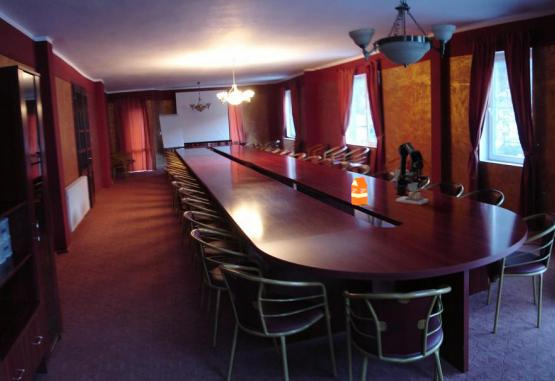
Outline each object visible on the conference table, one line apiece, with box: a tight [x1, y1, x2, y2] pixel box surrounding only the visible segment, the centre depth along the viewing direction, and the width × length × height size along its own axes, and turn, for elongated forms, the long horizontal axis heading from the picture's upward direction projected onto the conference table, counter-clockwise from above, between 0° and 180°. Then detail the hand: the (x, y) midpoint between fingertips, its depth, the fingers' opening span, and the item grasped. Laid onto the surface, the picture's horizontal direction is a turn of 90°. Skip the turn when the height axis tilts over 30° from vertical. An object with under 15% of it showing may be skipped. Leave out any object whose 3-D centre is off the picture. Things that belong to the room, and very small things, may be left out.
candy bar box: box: [393, 169, 410, 190], centre depth 408 cm, size 11×5×16 cm, turn 62°
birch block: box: [408, 191, 421, 199], centre depth 355 cm, size 6×6×5 cm
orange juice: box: [351, 176, 368, 206], centre depth 354 cm, size 8×9×20 cm
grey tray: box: [395, 195, 429, 205], centre depth 357 cm, size 20×12×3 cm, turn 47°
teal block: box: [408, 182, 421, 192], centre depth 354 cm, size 6×6×5 cm
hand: (414, 188), depth 354 cm, fingers closed on teal block, 6 cm apart
